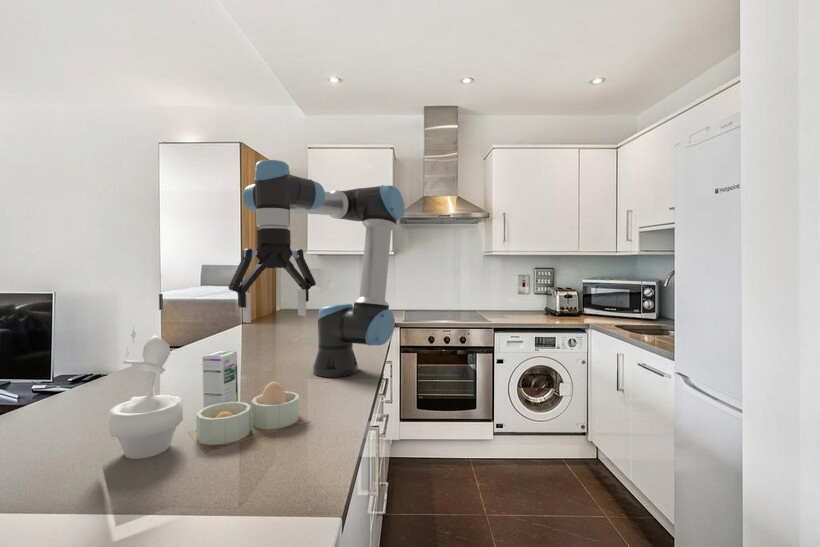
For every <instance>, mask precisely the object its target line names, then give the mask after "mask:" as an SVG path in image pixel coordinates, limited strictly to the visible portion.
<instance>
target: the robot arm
mask: <svg viewBox="0 0 820 547" xmlns="http://www.w3.org/2000/svg"><path fill="white" fill-rule="evenodd" d="M254 172H255V173H254V182H255V183H253V184H250V185H248V186H246V187H245V188H244V190H243V192H242V193H243V194H242V199H243V200H242V201H243V203H244V206H245V207H246V208H247V209H248V210H249V211H250V212H254V213H256V214H255V215H256V216H255V221H256V227H258V229H257V230H256V246H257V247H256V249H252V248H244V249H243V250H242V254H241V257H242V258H241V260H240V262H239V264H238V266H237V268H236V270H235V272H234V275H233V277H232V279H231V281H230V283H229V285H228V287H227V288H228V290H229V291H232V292H235V293H237V306H238V308H241V309H242V322H244V323H246V324H247V323H252V314H251V293H250V292H248V290H249V289H250V288H251V286H252V285H253V284H254V283H255V281H257V279H258V277H260V275H261V274H262V272H263V271H265V270H266V269H283V270H285V271H286V272H287V273H288V274H289V275H290V277H291V278H292V279H293V280H294V282H295V283H296V284H297V285H298V286H299V287H300V288H298V289H297V315H298V316H301V317H307V302H309V300H310V299H309V294H310V293H309V291H310V289H311V288H312V287H315V286H316V285H317V284H316V281H315V278H314V276H313V274H312V272H311V270H310V267H309V266H308V264H307V262H306V260H305V258H304V257H305V256H304V250H303V249H301V248H299V249H298V248H297V249H294V250H292V249H291V244H292V242H291V240H292V239H291V235H292V234H291V230H290V227H291V213H294V214H308V215H321V216H324V215H325V216H329V217H331V218H332V219H336V220H337V219H339V220H346V221H353V222H362V225H363V226H364V227H365V228H366V230H365V236H364V237H365V239H364V249H363V257H362V258H363V259H362V267H361V278H360V279H361V280H360V286H359V297H358V298H357V299H356V300H355V301H354V303H353V304H352V303H344V304H335V305H327V306H322V307H320V308H319V310H318V317H317V335H318V336H317V338H318V340H317V342H318V343H317V344H318V350H317V353H316V355H315V356H316V357H315V359H314V363H313V366H312V374H314V375H315V376H317V375H318V376H317V377H322V376H323V377H322V378H341V376H342V377H346V376H347V375H348V376H351V375H354V374H356V373H357V372H358V371H359V370H358V368H359V365H358V361H357V359H356V358H357V357H356V356H355V353H354V349H353V346H354V345H353V344H358V345H364V346H365V345H366V346H367V345H368V346H370V347H371V346H383V345H385V344H386V343H387V342H388V341H389V340H390V339H391V337H392V336H393V332H394V330H395V325H396V324H395V323H396V321H395V316H394V313H393V311H391V310H390V309H389V308H390V305H389V303H388V302H387V301H386V294H387V292H386V291H387V281H388V273H389V272H388V271H389V262H390V261H389V260H390V259H389V258H390V249H391V247H390V246H391V239H392V231H393V230H394V229H396V227H397V221H398V220H399V221H400V220H401V219H402V218H403V216H404V214H405V202H404V198H403V196H402V193H401V192H400V190H399V189H398V188H397V187H396V186H395V185H392V184H391V185H383V184H382V185H379V186H369V187H361V188H360V187H359V188H354V189H352V188H351V189H347V190H340V189H339V190H338V189H337V190H332V191H330V192H329V191H325V188H324V187H323V185H322V184H321V183H319V182H318V181H315V180H313V179H311V178H310V179H309V178H305V177H304V178H303V177H300V176H297V175H292V174H290V172H291V171H290V167H289V164H288V163H286V162H285V161H282V160H277V159H263V160H260V161H257V162H256V164H255V169H254ZM288 228H289V229H288ZM255 256H256V258H257V259H258V261H257V263H255V265H254V266H253V269H252V270H251V271H250V272H249V273H248V274H247V276H246V278H244V277H245V275H246V273H247V271H248V268H249V267H250V264H251V262H252V259H254V258H255ZM291 257H292V258H293V259H294V261H295V263H296V265H297V267H298V269H299V271H300V272H301V273H300V272H299V271H298V270H297V269H296V267H295V265H294V264H293V262H292V261H291V260H290V259H291Z"/></svg>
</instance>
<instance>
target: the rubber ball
mask: <svg viewBox="0 0 820 547" xmlns="http://www.w3.org/2000/svg"><path fill="white" fill-rule="evenodd" d="M232 415H233V414H232V413H231V412H228V411H224V412H221V413H219V414H218V415H217V416H216V418H222V417H228V416H232Z"/></svg>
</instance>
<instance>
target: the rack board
mask: <svg viewBox="0 0 820 547" xmlns="http://www.w3.org/2000/svg"><path fill="white" fill-rule="evenodd" d="M311 422H312V421H311V420H309V419H308V418H306V417H304V416H303V415H301V414H299V419H298V421H297V422H295V423H294V424H292V425H290V426H286V427H283V428H278V429H260V428H256V427H255V426H253V425H252V415H251V431H250V433H249V435H247V436H245V437H244V438H242V439H240V440H237V441H234V442H230V443H227V444H218V445H207V444H202V443H200V442H199V441H198V440H197V429H195V430H192V431H188V432H187V434H188V435H189V436H190V438H192V440H193V442H195V444H196V445H197V446H198V448H199V449H200V450H201V451H202V452H203V453H207V452H211V451H215V450H218V449H221V448H225V447H229V446H232V445H235V444H238V443H241V442H245V441H248V440H253V439H256V438H260V437H262V436H266V435H269V434H273V433H276V432H280V431H283V430H287V429H291V428H294V427H298V426H300V425H304V424H307V423H311Z"/></svg>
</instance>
